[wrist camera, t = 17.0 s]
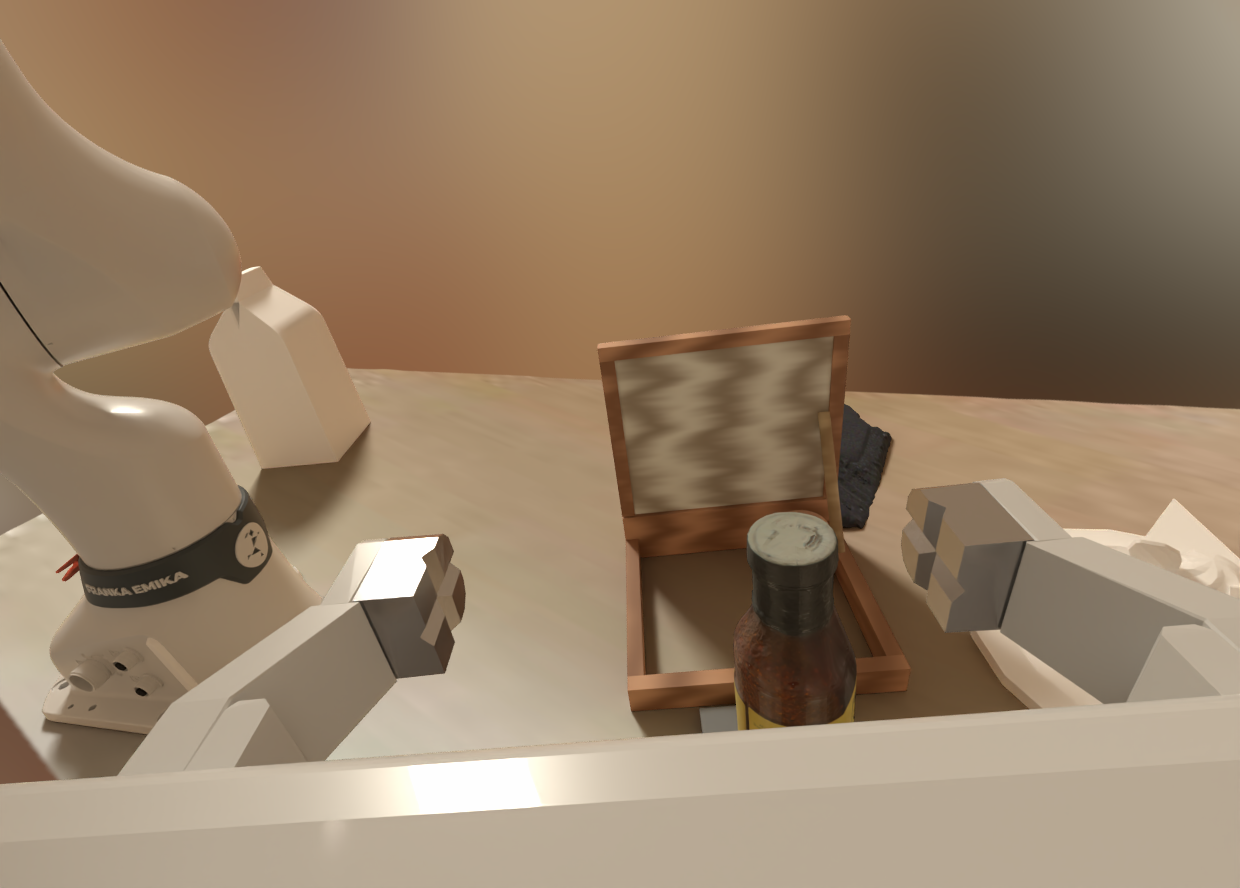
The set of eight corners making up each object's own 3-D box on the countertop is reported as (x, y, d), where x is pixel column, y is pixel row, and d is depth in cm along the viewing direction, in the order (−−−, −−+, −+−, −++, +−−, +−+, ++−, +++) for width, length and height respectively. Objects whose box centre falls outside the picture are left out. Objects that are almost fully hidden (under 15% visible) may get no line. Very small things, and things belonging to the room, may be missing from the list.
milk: (337, 461, 83) (259, 279, 70) (261, 468, 84) (170, 290, 71) (370, 421, 93) (307, 256, 80) (302, 428, 94) (229, 266, 81)
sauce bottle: (870, 812, 34) (913, 557, 24) (783, 868, 32) (790, 616, 22) (797, 722, 40) (807, 483, 30) (719, 766, 38) (701, 525, 28)
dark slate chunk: (717, 509, 64) (715, 473, 61) (772, 417, 80) (773, 385, 77) (867, 540, 56) (872, 501, 54) (894, 432, 73) (899, 398, 70)
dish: (1539, 930, 28) (1741, 802, 22) (948, 719, 40) (979, 602, 34) (1344, 588, 45) (1428, 467, 40) (974, 514, 58) (998, 414, 52)
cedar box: (631, 711, 43) (587, 459, 32) (628, 550, 59) (598, 343, 48) (906, 690, 42) (959, 421, 31) (829, 532, 57) (846, 315, 46)
